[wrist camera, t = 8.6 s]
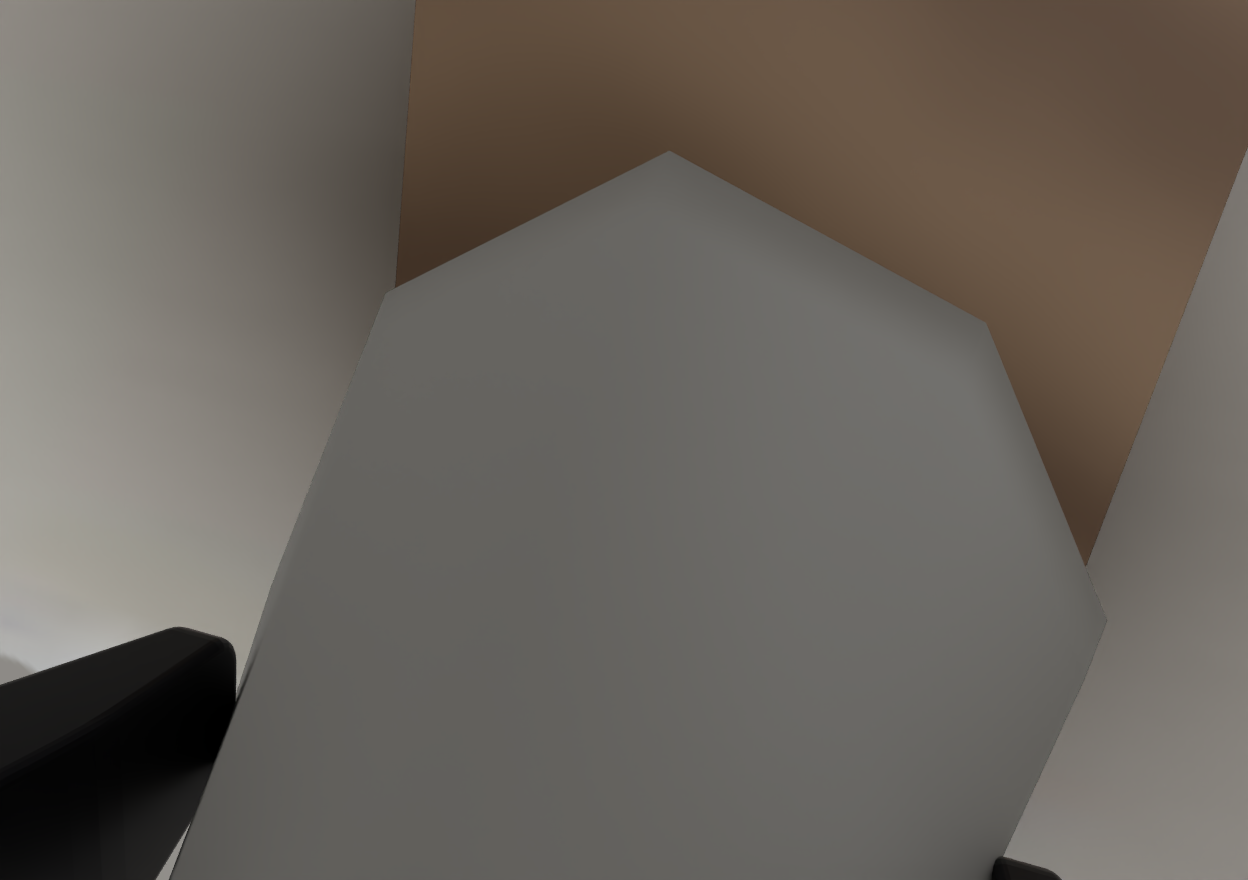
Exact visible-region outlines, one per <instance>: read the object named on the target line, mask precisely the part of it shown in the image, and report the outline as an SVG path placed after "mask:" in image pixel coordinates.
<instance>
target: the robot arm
mask: <svg viewBox="0 0 1248 880" xmlns="http://www.w3.org/2000/svg"><path fill="white" fill-rule="evenodd" d="M235 703H236V654H235V651H234V648H233V646H232V644H231V643H230V642H229V641H227V640H226V639H224V638H222V637H218V636H215V635H211V634H207V633H204V632H200V631H197V630H193V629H190V628H185V627H173V628H169V629H165V630H163V631H160V632H157V633H154V634H151V635H148V636H145V637H142V638H139V639H136V640H133V641H130V642H127V643H124V644H121V645H118V646H115V647H112V648H109V649H106V650H103V651H100V652H97V653H94V654H91V655H88V656H85V657H82V658H79V659H76V660H73V661H70V662H67V663H64V664H61V665H58V666H55V667H52V668H49V669H46V670H43V671H40V672H37V673H34V674H31V675H28V676H25V677H23V678H20V679H16V680H13V681H11V682H7V683H5V684H1V685H0V880H156V878H157V877H158V875H159V873H160V872H161V870H162V869H163V867H164V865H165V864H166V862H167V860H168V859H169V857H170V855H171V854H172V852H173V850H174V849H175V847H176V846H177V844H178V842H179V841H180V839H181V837H182V836H183V834H184V832H185V831H186V829H187V827H188V826H189V824H190V823H191V821H192V818H193V815H194V813H195V810H196V808H197V805H198V802H199V800H200V797H201V794H202V792H203V789H204V787H205V784H206V781H207V779H208V776H209V774H210V771H211V768H212V766H213V763H214V761H215V758H216V755H217V753H218V750H219V747H220V744H221V742H222V739H223V736H224V733H225V731H226V728H227V725H228V723H229V720H230V717H231V714H232V712H233V709H234V706H235ZM992 880H1062V879H1061V878H1060V877H1059V876H1058V875H1056V874H1055V873H1054V872H1052V871H1050V870H1048V869H1046V868H1042V867H1038V866H1035V865H1031V864H1028V863H1024V862H1021V861H1017V860H1013V859H1010V858H1006V857H1003V856H1001V857H998V858H997V859H996V860H995V863H994V866H993V870H992Z"/></svg>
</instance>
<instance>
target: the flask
mask: <svg viewBox="0 0 1248 880" xmlns="http://www.w3.org/2000/svg"><path fill="white" fill-rule="evenodd" d="M1106 622H1107V619H1106V617H1105V614H1104V612H1103V609H1102V607H1101V604H1100V602H1099V599H1098V597H1097V595H1096V592H1095V590H1094V587H1093V585H1092V582H1091V580H1090V577H1089V575H1088V572H1087V570H1086V567H1085V565H1084V563H1083V560H1082V558H1081V555H1080V553H1079V550H1078V548H1077V545H1076V543H1075V540H1074V538H1073V535H1072V533H1071V531H1070V528H1069V526H1068V523H1067V521H1066V518H1065V516H1064V513H1063V511H1062V508H1061V506H1060V503H1059V501H1058V499H1057V496H1056V494H1055V491H1054V489H1053V486H1052V484H1051V481H1050V479H1049V476H1048V474H1047V472H1046V469H1045V467H1044V464H1043V462H1042V459H1041V457H1040V454H1039V452H1038V449H1037V447H1036V444H1035V442H1034V440H1033V437H1032V435H1031V432H1030V430H1029V427H1028V425H1027V422H1026V420H1025V417H1024V415H1023V412H1022V410H1021V408H1020V405H1019V403H1018V400H1017V398H1016V395H1015V393H1014V390H1013V388H1012V385H1011V383H1010V380H1009V378H1008V376H1007V373H1006V371H1005V368H1004V366H1003V363H1002V361H1001V358H1000V356H999V353H998V351H997V348H996V346H995V344H994V341H993V339H992V336H991V334H990V331H989V329H988V326H987V324H986V323H985V322H984V321H982V320H980V319H978V318H976V317H974V316H973V315H971V314H969V313H967V312H965V311H963V310H962V309H960V308H958V307H956V306H954V305H952V304H950V303H949V302H947V301H945V300H943V299H941V298H939V297H938V296H936V295H934V294H932V293H930V292H928V291H927V290H925V289H923V288H921V287H919V286H917V285H916V284H914V283H912V282H910V281H908V280H906V279H905V278H903V277H901V276H899V275H897V274H895V273H894V272H892V271H890V270H888V269H886V268H884V267H882V266H881V265H879V264H877V263H875V262H873V261H871V260H870V259H868V258H866V257H864V256H862V255H860V254H859V253H857V252H855V251H853V250H851V249H849V248H848V247H846V246H844V245H842V244H840V243H838V242H837V241H835V240H833V239H831V238H829V237H827V236H826V235H824V234H822V233H820V232H818V231H816V230H814V229H813V228H811V227H809V226H807V225H805V224H803V223H802V222H800V221H798V220H796V219H794V218H792V217H791V216H789V215H787V214H785V213H783V212H781V211H780V210H778V209H776V208H774V207H772V206H770V205H769V204H767V203H765V202H763V201H761V200H759V199H758V198H756V197H754V196H752V195H750V194H748V193H746V192H745V191H743V190H741V189H739V188H737V187H735V186H734V185H732V184H730V183H728V182H726V181H724V180H723V179H721V178H719V177H717V176H715V175H713V174H712V173H710V172H708V171H706V170H704V169H702V168H701V167H699V166H697V165H695V164H693V163H691V162H690V161H688V160H686V159H684V158H682V157H680V156H678V155H677V154H675V153H673V152H671V151H668V152H666V153H664V154H662V155H660V156H658V157H656V158H654V159H652V160H650V161H648V162H646V163H644V164H642V165H640V166H638V167H636V168H634V169H632V170H630V171H628V172H626V173H624V174H622V175H620V176H618V177H616V178H614V179H612V180H610V181H608V182H606V183H604V184H602V185H600V186H598V187H596V188H594V189H592V190H590V191H588V192H586V193H584V194H582V195H580V196H578V197H576V198H574V199H572V200H570V201H568V202H566V203H564V204H562V205H560V206H558V207H556V208H554V209H552V210H550V211H548V212H546V213H544V214H542V215H540V216H538V217H536V218H534V219H532V220H530V221H528V222H526V223H524V224H522V225H520V226H518V227H516V228H514V229H512V230H510V231H508V232H506V233H504V234H502V235H500V236H498V237H496V238H494V239H492V240H490V241H488V242H486V243H484V244H482V245H480V246H478V247H476V248H474V249H472V250H470V251H468V252H466V253H464V254H462V255H460V256H458V257H456V258H454V259H452V260H450V261H448V262H446V263H444V264H442V265H440V266H438V267H436V268H434V269H432V270H430V271H428V272H426V273H424V274H422V275H420V276H418V277H416V278H414V279H412V280H410V281H408V282H406V283H404V284H402V285H400V286H398V287H396V288H394V289H392V290H390V291H388V292H386V293H385V296H384V298H383V301H382V304H381V306H380V309H379V311H378V314H377V316H376V319H375V321H374V324H373V327H372V329H371V332H370V334H369V337H368V339H367V342H366V344H365V347H364V350H363V352H362V355H361V357H360V360H359V362H358V365H357V367H356V370H355V373H354V375H353V378H352V380H351V383H350V385H349V388H348V391H347V393H346V396H345V398H344V401H343V403H342V406H341V408H340V411H339V414H338V416H337V419H336V421H335V424H334V426H333V429H332V431H331V434H330V437H329V439H328V442H327V444H326V447H325V449H324V452H323V454H322V457H321V460H320V462H319V465H318V467H317V470H316V472H315V475H314V477H313V480H312V483H311V485H310V488H309V490H308V493H307V495H306V498H305V500H304V503H303V506H302V508H301V511H300V513H299V516H298V518H297V521H296V523H295V526H294V529H293V531H292V534H291V536H290V539H289V541H288V544H287V547H286V549H285V552H284V554H283V557H282V559H281V562H280V565H279V567H278V570H277V572H276V575H275V578H274V580H273V583H272V585H271V588H270V591H269V594H268V597H267V601H266V604H265V607H264V610H263V613H262V616H261V619H260V622H259V625H258V628H257V631H256V634H255V637H254V641H253V644H252V647H251V650H250V653H249V656H248V659H247V662H246V665H245V668H244V671H243V674H242V678H241V681H240V684H239V687H238V690H237V693H236V703H235V706H234V709H233V712H232V714H231V717H230V720H229V723H228V725H227V728H226V731H225V733H224V736H223V739H222V742H221V744H220V747H219V750H218V753H217V755H216V758H215V761H214V763H213V766H212V768H211V771H210V774H209V776H208V779H207V781H206V784H205V787H204V789H203V792H202V794H201V797H200V800H199V802H198V805H197V808H196V810H195V813H194V815H193V818H192V821H191V823H190V826H189V829H188V831H187V834H186V836H185V839H184V841H183V844H182V847H181V849H180V852H179V855H178V857H177V860H176V862H175V865H174V868H173V870H172V873H171V875H170V878H169V880H992V870H993V866H994V863H995V860H996V859H997V858H998V857H1001V856H1003V855H1004V853H1005V851H1006V848H1007V846H1008V844H1009V842H1010V840H1011V837H1012V835H1013V833H1014V831H1015V829H1016V827H1017V824H1018V822H1019V820H1020V818H1021V816H1022V814H1023V811H1024V809H1025V807H1026V805H1027V803H1028V801H1029V798H1030V796H1031V794H1032V792H1033V790H1034V787H1035V785H1036V783H1037V781H1038V779H1039V777H1040V774H1041V772H1042V770H1043V768H1044V766H1045V764H1046V761H1047V759H1048V757H1049V755H1050V753H1051V751H1052V748H1053V746H1054V744H1055V742H1056V740H1057V737H1058V735H1059V733H1060V731H1061V729H1062V727H1063V724H1064V722H1065V720H1066V718H1067V716H1068V714H1069V711H1070V709H1071V707H1072V705H1073V703H1074V701H1075V698H1076V696H1077V694H1078V692H1079V690H1080V688H1081V685H1082V683H1083V681H1084V679H1085V676H1086V674H1087V671H1088V668H1089V666H1090V663H1091V661H1092V658H1093V655H1094V653H1095V650H1096V648H1097V645H1098V642H1099V640H1100V637H1101V635H1102V632H1103V630H1104V627H1105V624H1106Z"/></svg>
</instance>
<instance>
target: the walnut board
mask: <svg viewBox="0 0 1248 880" xmlns="http://www.w3.org/2000/svg"><path fill="white" fill-rule="evenodd" d="M1247 147H1248V0H416V5H415V19H414V33H413V47H412V61H411V75H410V89H409V103H408V117H407V131H406V145H405V159H404V173H403V187H402V201H401V215H400V229H399V243H398V257H397V271H396V285H395V288H396V287H398V286H400V285H402V284H404V283H406V282H408V281H410V280H412V279H414V278H416V277H418V276H420V275H422V274H424V273H426V272H428V271H430V270H432V269H434V268H436V267H438V266H440V265H442V264H444V263H446V262H448V261H450V260H452V259H454V258H456V257H458V256H460V255H462V254H464V253H466V252H468V251H470V250H472V249H474V248H476V247H478V246H480V245H482V244H484V243H486V242H488V241H490V240H492V239H494V238H496V237H498V236H500V235H502V234H504V233H506V232H508V231H510V230H512V229H514V228H516V227H518V226H520V225H522V224H524V223H526V222H528V221H530V220H532V219H534V218H536V217H538V216H540V215H542V214H544V213H546V212H548V211H550V210H552V209H554V208H556V207H558V206H560V205H562V204H564V203H566V202H568V201H570V200H572V199H574V198H576V197H578V196H580V195H582V194H584V193H586V192H588V191H590V190H592V189H594V188H596V187H598V186H600V185H602V184H604V183H606V182H608V181H610V180H612V179H614V178H616V177H618V176H620V175H622V174H624V173H626V172H628V171H630V170H632V169H634V168H636V167H638V166H640V165H642V164H644V163H646V162H648V161H650V160H652V159H654V158H656V157H658V156H660V155H662V154H664V153H666V152H668V151H671V152H673V153H675V154H677V155H678V156H680V157H682V158H684V159H686V160H688V161H690V162H691V163H693V164H695V165H697V166H699V167H701V168H702V169H704V170H706V171H708V172H710V173H712V174H713V175H715V176H717V177H719V178H721V179H723V180H724V181H726V182H728V183H730V184H732V185H734V186H735V187H737V188H739V189H741V190H743V191H745V192H746V193H748V194H750V195H752V196H754V197H756V198H758V199H759V200H761V201H763V202H765V203H767V204H769V205H770V206H772V207H774V208H776V209H778V210H780V211H781V212H783V213H785V214H787V215H789V216H791V217H792V218H794V219H796V220H798V221H800V222H802V223H803V224H805V225H807V226H809V227H811V228H813V229H814V230H816V231H818V232H820V233H822V234H824V235H826V236H827V237H829V238H831V239H833V240H835V241H837V242H838V243H840V244H842V245H844V246H846V247H848V248H849V249H851V250H853V251H855V252H857V253H859V254H860V255H862V256H864V257H866V258H868V259H870V260H871V261H873V262H875V263H877V264H879V265H881V266H882V267H884V268H886V269H888V270H890V271H892V272H894V273H895V274H897V275H899V276H901V277H903V278H905V279H906V280H908V281H910V282H912V283H914V284H916V285H917V286H919V287H921V288H923V289H925V290H927V291H928V292H930V293H932V294H934V295H936V296H938V297H939V298H941V299H943V300H945V301H947V302H949V303H950V304H952V305H954V306H956V307H958V308H960V309H962V310H963V311H965V312H967V313H969V314H971V315H973V316H974V317H976V318H978V319H980V320H982V321H984V322H985V323H986V324H987V326H988V329H989V331H990V334H991V336H992V339H993V341H994V344H995V346H996V348H997V351H998V353H999V356H1000V358H1001V361H1002V363H1003V366H1004V368H1005V371H1006V373H1007V376H1008V378H1009V380H1010V383H1011V385H1012V388H1013V390H1014V393H1015V395H1016V398H1017V400H1018V403H1019V405H1020V408H1021V410H1022V412H1023V415H1024V417H1025V420H1026V422H1027V425H1028V427H1029V430H1030V432H1031V435H1032V437H1033V440H1034V442H1035V444H1036V447H1037V449H1038V452H1039V454H1040V457H1041V459H1042V462H1043V464H1044V467H1045V469H1046V472H1047V474H1048V476H1049V479H1050V481H1051V484H1052V486H1053V489H1054V491H1055V494H1056V496H1057V499H1058V501H1059V503H1060V506H1061V508H1062V511H1063V513H1064V516H1065V518H1066V521H1067V523H1068V526H1069V528H1070V531H1071V533H1072V535H1073V538H1074V540H1075V543H1076V545H1077V548H1078V550H1079V553H1080V555H1081V558H1082V560H1083V563H1084V565H1085V567H1086V564H1087V562H1088V559H1089V557H1090V554H1091V551H1092V549H1093V546H1094V544H1095V541H1096V539H1097V536H1098V533H1099V531H1100V528H1101V526H1102V523H1103V520H1104V518H1105V515H1106V513H1107V510H1108V507H1109V505H1110V502H1111V500H1112V497H1113V495H1114V492H1115V489H1116V487H1117V484H1118V482H1119V479H1120V476H1121V474H1122V471H1123V469H1124V466H1125V463H1126V461H1127V458H1128V456H1129V453H1130V450H1131V448H1132V445H1133V443H1134V440H1135V438H1136V435H1137V432H1138V430H1139V427H1140V425H1141V422H1142V419H1143V417H1144V414H1145V412H1146V409H1147V406H1148V404H1149V401H1150V399H1151V396H1152V393H1153V391H1154V388H1155V386H1156V383H1157V381H1158V378H1159V375H1160V373H1161V370H1162V368H1163V365H1164V362H1165V360H1166V357H1167V355H1168V352H1169V349H1170V347H1171V344H1172V342H1173V339H1174V336H1175V334H1176V331H1177V329H1178V326H1179V324H1180V321H1181V318H1182V316H1183V313H1184V311H1185V308H1186V305H1187V303H1188V300H1189V298H1190V295H1191V292H1192V290H1193V287H1194V285H1195V282H1196V279H1197V277H1198V274H1199V272H1200V269H1201V267H1202V264H1203V261H1204V259H1205V256H1206V254H1207V251H1208V248H1209V246H1210V243H1211V241H1212V238H1213V235H1214V233H1215V230H1216V228H1217V225H1218V222H1219V220H1220V217H1221V215H1222V212H1223V210H1224V207H1225V204H1226V202H1227V199H1228V197H1229V194H1230V191H1231V189H1232V186H1233V184H1234V181H1235V178H1236V176H1237V173H1238V171H1239V168H1240V165H1241V163H1242V160H1243V158H1244V155H1245V153H1246V150H1247Z"/></svg>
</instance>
